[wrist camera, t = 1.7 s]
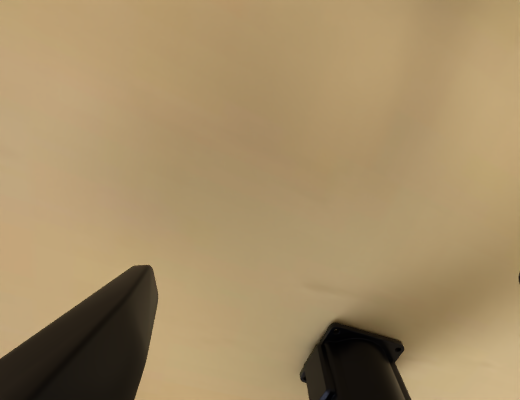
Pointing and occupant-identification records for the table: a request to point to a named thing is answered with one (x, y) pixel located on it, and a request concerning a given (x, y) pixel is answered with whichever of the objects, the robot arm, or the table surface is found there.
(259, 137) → the table surface
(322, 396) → the robot arm
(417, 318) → the table surface
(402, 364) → the table surface
